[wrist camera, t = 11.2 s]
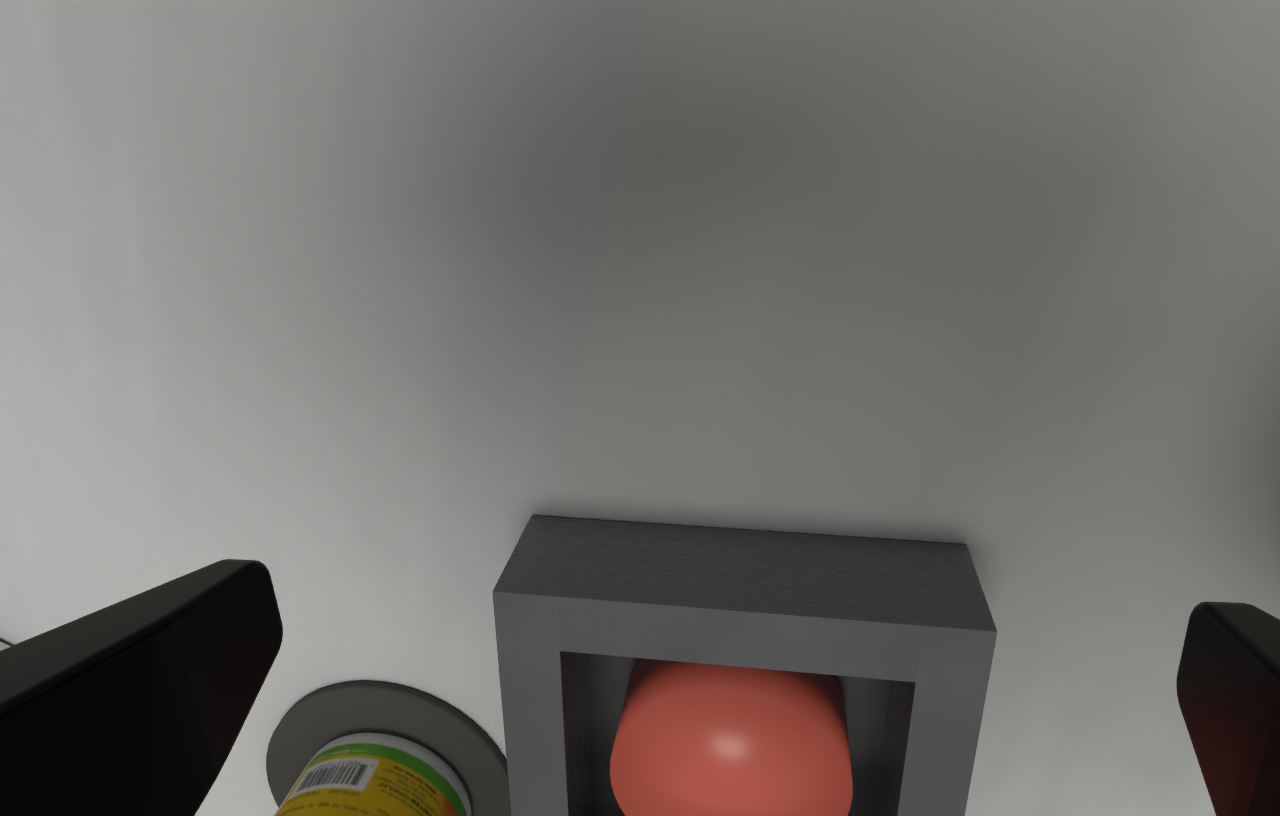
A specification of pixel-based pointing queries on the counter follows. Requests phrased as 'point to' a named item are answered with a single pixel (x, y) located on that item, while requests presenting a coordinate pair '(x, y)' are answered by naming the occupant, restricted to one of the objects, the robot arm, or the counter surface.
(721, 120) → the counter surface
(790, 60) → the counter surface
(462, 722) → the coaster
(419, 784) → the supplement bottle
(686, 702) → the button
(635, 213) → the counter surface
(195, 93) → the counter surface
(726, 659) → the grey square tray
